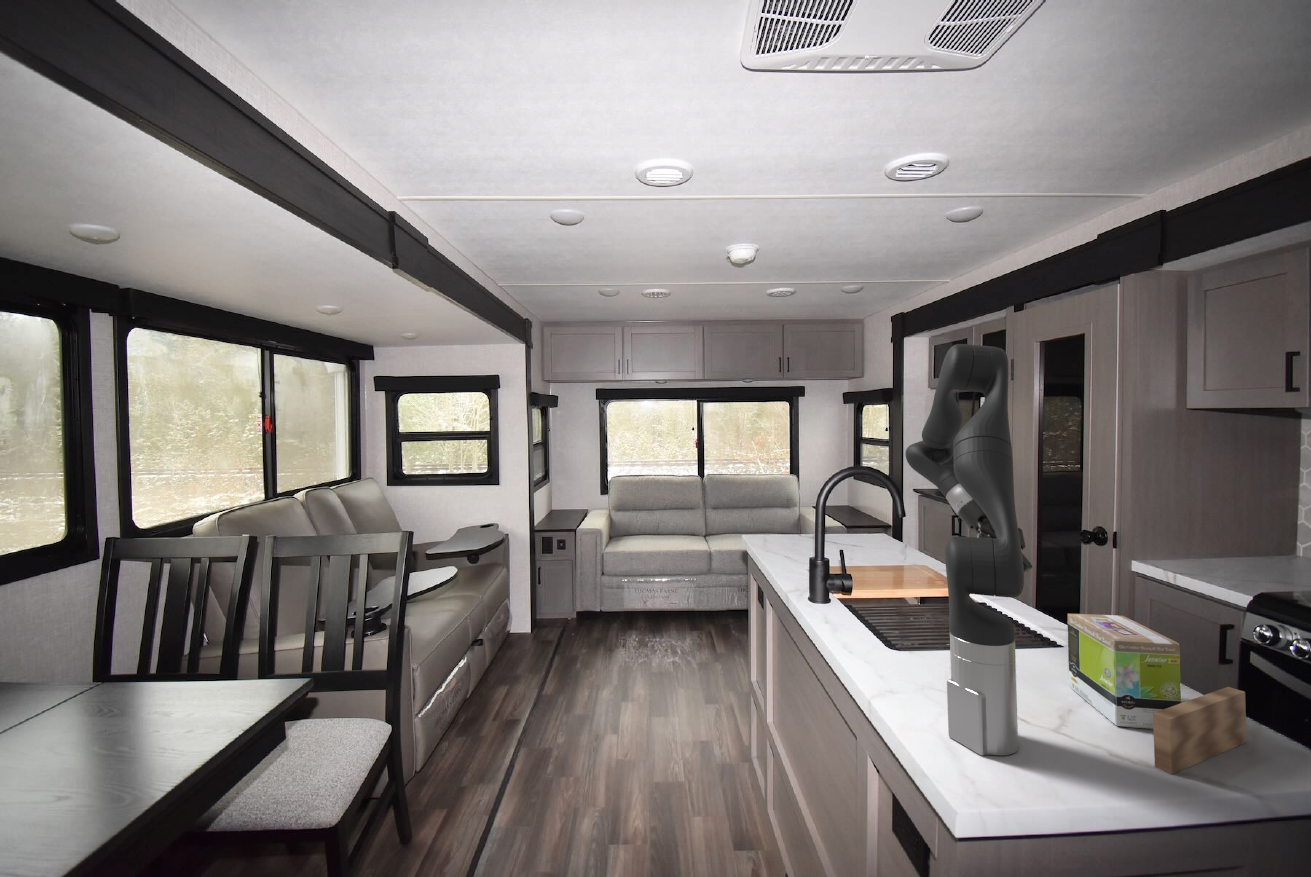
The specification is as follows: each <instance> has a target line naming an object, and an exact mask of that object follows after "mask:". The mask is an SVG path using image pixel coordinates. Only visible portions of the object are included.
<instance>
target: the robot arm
mask: <svg viewBox="0 0 1311 877" xmlns="http://www.w3.org/2000/svg"><path fill="white" fill-rule="evenodd" d="M941 364H942V365H941V368H940V371H939V376H938V380H937V385H936V388H935V392H934V396H933V401H932V406H931V409H930V412H929V415H928V417H927V420H926V422H925V424H924V427H923V428H922V432H921V439H922V440H920V441H918V442H915V443H912V444H910V445H909V446H908V447H907V448H906V450H905V458H906V462H907V464H908V465H909V466H910V467H911V469H912V470H914V471H915V472H916V473H918V474H919V475H921V476H922V477H923V478H925V479H926V480H928V481H929V482H930V483H931V484H933V485H934V486H935V487H936V488H938V490H939V491H940V493H942V495H943V497H945V498H946V500H947V502H948V503H949V505H950V507H951V508H952V509H953V510H954V512H955V513H956V514H957V515H958V517H959V518H960V519H961V520H962V522H963V523H964V524H965V525H966V526H967V527H968V530H971V531H975V532H976V534H977V536H976V537H975V536H952V537H950V538H949V539H948V541H947V543H946V546H945V550H944V551H945V553H944V555H945V557H944V558H945V560H944V561H945V570H946V571H945V572H946V581H947V593H948V608H949V609H948V612H949V613H948V616H949V617H948V618H949V622H948V623H949V650H950V653H949V654H950V679H947V681H946V696H947V698H946V699H947V728H948V737H949V738H951V739H952V740H954V741H955V742H957V743H959V744H961V745H963V746H965V747H966V748H968V749H969V750H971V751H973V752H974V753H977V754H978V755H979V756H985V755H986V756H987V755H992V756H1008V755H1011V754H1012V755H1013V754H1015V753H1016V752H1018V749H1019V728H1018V727H1019V725H1018V698H1017V697H1018V695H1017V692H1018V691H1017V665H1016V663H1017V662H1016V657H1017V655H1016V634H1015V632H1016V631H1015V626H1014V623H1013V622H1012V621H1011V619H1009V618H1008V617H1006V616H1005V615H1003V614H1000V613H999V612H996V611H994V610H991V609H989V608H987V607H984V606H983V605H981V604H980V603H978V602H977V601H975V599H973V598H972V597H971V596H970V595H981V596H989V597H997V598H998V597H1000V598H1017V597H1019V596H1020V595H1021V594H1022V592H1023V589H1024V587H1025V573H1027V572H1030V571H1031V569H1033V564H1032V563H1031V562H1030V560H1028V558H1027V557H1026V556H1025V554H1023V552H1022V551H1023V550H1024V549H1026V543H1025V542H1026V541H1025V538H1024V532H1023V530H1022V529H1021V528H1020V527H1019V525H1018V520H1017V519H1018V518H1017V513H1016V512H1017V510H1016V504H1015V503H1016V501H1015V485H1014V484H1015V481H1014V459H1013V447H1012V440H1011V439H1012V438H1011V432H1010V422H1009V405H1008V404H1009V403H1008V402H1009V400H1008V398H1009V357H1008V355H1007V353H1006V351H1005V350H1004V349H1003V348H1001V347H996V346H992V345H991V346H989V345H981V344H980V345H978V344H977V345H976V344H969V343H959V344H958V343H957V344H954V345H952V346H951V347H949V349H948V350H947V351H946V354H945V356H944V359H943V362H942V363H941ZM953 390H959V391H965V392H976V393H981V394H983V396H984V399H983V400H984V401H983V403H982V405H981V406H980V407H979V408H978V411H976V413H974V415H972V417H970V419H969V420H968V421H967V422H966V423H965V424H964V425H963V418H964V417H963V413H962V411H961V408H960V405H959V404H958V402H957V400H956V398H955V396H954V391H953ZM962 425H963V426H962ZM952 458H953V464H945V463H947V462H949V461H950V460H951V459H952Z"/></svg>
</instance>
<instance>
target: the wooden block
mask: <svg viewBox="0 0 1311 877" xmlns="http://www.w3.org/2000/svg"><path fill="white" fill-rule="evenodd" d="M1246 707H1247V706H1246V691H1244V690H1240V689H1237V688H1233V687H1230V686H1226V687H1223V688H1220V689H1217V690H1214V691H1212V692H1209V693H1206V694H1203V695H1200V696H1198V697H1195V698H1192V699H1189V700H1187V701H1183V702H1181V703H1180V704H1178V705H1175V706H1172V707H1169V708H1166V709H1163V710H1161V711H1158V712H1155V713H1153V725H1154V729H1153V744H1154V745H1153V749H1154V750H1153V751H1154V752H1153V753H1154V755H1153V757H1154V767H1155V768H1157V769H1159V770H1160V771H1163V772H1165V773H1168V774H1170V775H1173V774H1175V773H1177V772H1180V771H1183V770H1185V769H1187V768H1189V767H1192V766H1194V765H1196V764H1199V763H1201V762H1203V761H1206V760H1208V759H1211V758H1213V757H1215V756H1217V755H1220V754H1222V753H1225V752H1227V751H1229V750H1232V749H1234V748H1236V747H1239V746H1241V745H1243V744H1246V743H1247V742H1248V741H1247V713H1246V710H1247V709H1246Z"/></svg>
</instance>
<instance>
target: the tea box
mask: <svg viewBox="0 0 1311 877" xmlns="http://www.w3.org/2000/svg"><path fill="white" fill-rule="evenodd" d="M1067 645H1068V646H1067V647H1068V649H1067V650H1068V652H1067V653H1068V658H1067V659H1068V687H1069V688H1070V689H1072V690H1073V691H1074V692H1076V693H1077V695H1079V696H1080V697H1081V698H1083V699H1084V701H1086V702H1087V703H1088V704H1090V705H1091V706H1092V707H1093V708H1094V709H1096V710H1097V711H1098V712H1099V713H1101V714H1102V715H1103V716H1104V717H1106V718H1107V719H1108V720H1109V721H1110V722H1112V723H1113V724H1114V725H1115V726H1118V727H1127V728H1135V729H1136V728H1139V729H1151V730H1154V725H1153V713H1155V712H1158V711H1161V710H1163V709H1166V708H1169V707H1172V706H1175V705H1178V704H1180V703H1182V702H1181V700H1182V693H1181V692H1182V691H1181V651H1180V643H1179V642H1177V641H1175V640H1174V639H1171V638H1169V637H1167V636H1165V635H1163V634H1160V633H1159V632H1157V631H1155V630H1152V629H1150V628H1149V627H1147V626H1145V625H1142V624H1141V623H1139V622H1137V621H1136V620H1135V621H1134V620H1132V619H1131V618H1129V617H1126V616H1124V615H1117V614H1116V615H1113V614H1111V615H1110V614H1091V613H1090V614H1089V613H1067Z"/></svg>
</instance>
